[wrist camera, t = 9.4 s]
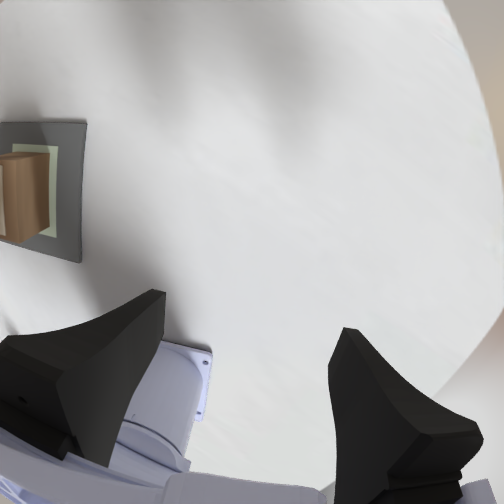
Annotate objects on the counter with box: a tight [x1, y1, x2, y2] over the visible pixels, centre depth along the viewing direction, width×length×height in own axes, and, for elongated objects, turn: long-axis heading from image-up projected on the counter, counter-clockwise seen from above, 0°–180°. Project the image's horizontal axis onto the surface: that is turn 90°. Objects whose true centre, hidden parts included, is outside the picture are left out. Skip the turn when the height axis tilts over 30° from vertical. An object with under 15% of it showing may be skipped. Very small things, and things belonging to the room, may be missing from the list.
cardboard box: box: [0, 151, 50, 244], centre depth 19 cm, size 4×6×4 cm, turn 170°
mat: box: [0, 122, 87, 263], centre depth 22 cm, size 11×10×1 cm
